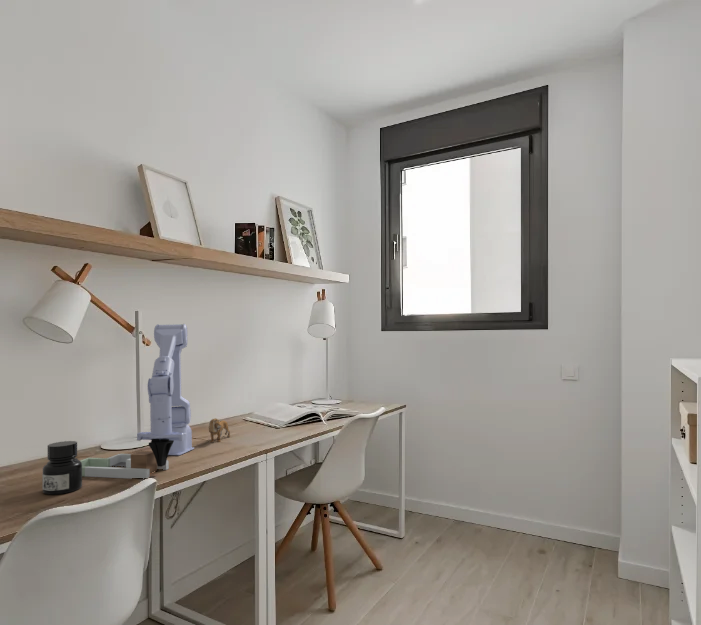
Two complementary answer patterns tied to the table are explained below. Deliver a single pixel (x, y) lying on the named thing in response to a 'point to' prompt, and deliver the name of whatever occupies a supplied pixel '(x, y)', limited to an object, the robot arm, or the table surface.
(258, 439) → the table surface
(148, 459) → the walnut block
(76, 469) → the ink bottle
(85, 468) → the trap box
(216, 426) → the lion figurine
